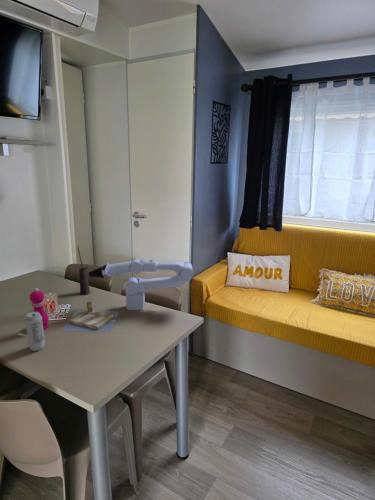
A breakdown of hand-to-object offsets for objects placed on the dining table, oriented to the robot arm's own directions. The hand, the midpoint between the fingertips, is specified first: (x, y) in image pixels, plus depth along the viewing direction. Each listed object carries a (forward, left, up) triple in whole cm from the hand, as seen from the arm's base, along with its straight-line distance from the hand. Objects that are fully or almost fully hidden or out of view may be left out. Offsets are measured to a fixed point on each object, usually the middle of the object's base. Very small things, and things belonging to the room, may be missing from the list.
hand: (91, 273), depth 166 cm
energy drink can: (+13, +36, -20) cm, 43 cm away
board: (-3, +14, -19) cm, 24 cm away
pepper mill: (+18, +21, -20) cm, 34 cm away
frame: (-3, +14, -19) cm, 23 cm away
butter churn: (+10, -21, -20) cm, 30 cm away
